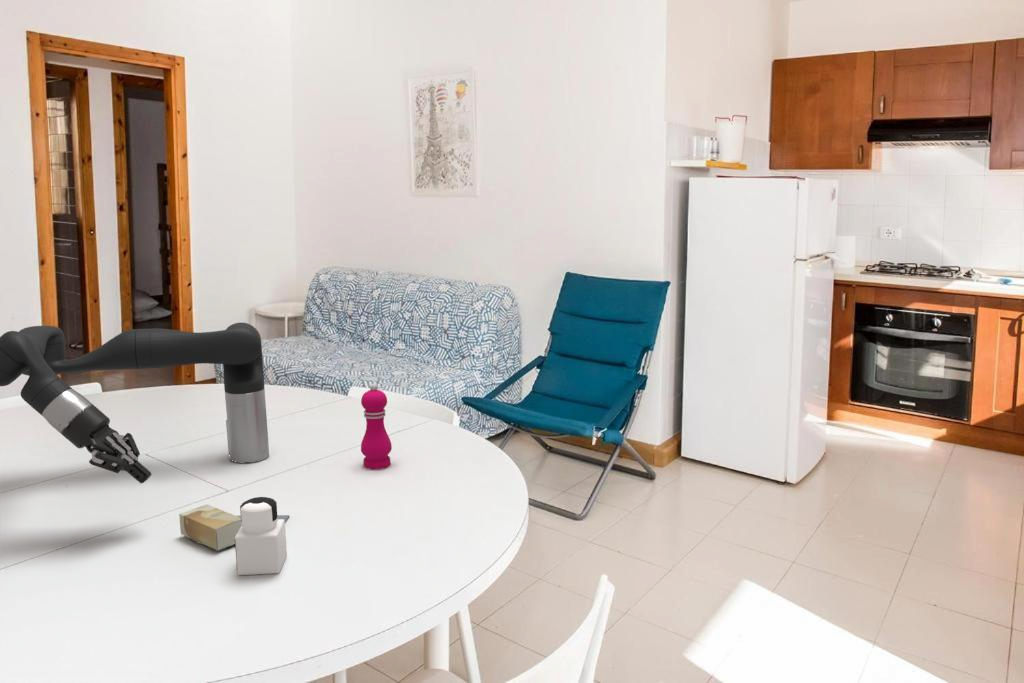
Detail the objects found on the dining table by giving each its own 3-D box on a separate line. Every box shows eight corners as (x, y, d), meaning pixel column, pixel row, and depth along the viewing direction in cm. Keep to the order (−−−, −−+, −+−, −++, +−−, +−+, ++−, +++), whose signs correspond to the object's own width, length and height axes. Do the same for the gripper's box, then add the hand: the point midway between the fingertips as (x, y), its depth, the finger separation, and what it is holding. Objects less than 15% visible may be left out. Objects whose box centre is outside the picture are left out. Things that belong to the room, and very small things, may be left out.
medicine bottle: (246, 557, 146) (242, 494, 144) (287, 555, 146) (283, 492, 144) (237, 576, 139) (231, 509, 137) (279, 574, 139) (275, 508, 137)
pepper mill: (386, 471, 189) (382, 387, 186) (356, 469, 191) (352, 386, 187) (396, 461, 196) (393, 380, 193) (368, 459, 198) (364, 379, 194)
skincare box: (207, 503, 159) (246, 517, 152) (209, 524, 159) (247, 539, 152) (177, 514, 154) (215, 529, 146) (179, 535, 154) (217, 551, 147)
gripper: (82, 421, 160) (150, 480, 162) (43, 442, 147) (117, 505, 149) (106, 395, 159) (174, 454, 161) (68, 414, 146) (143, 478, 148)
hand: (147, 479), depth 155 cm, fingers closed
